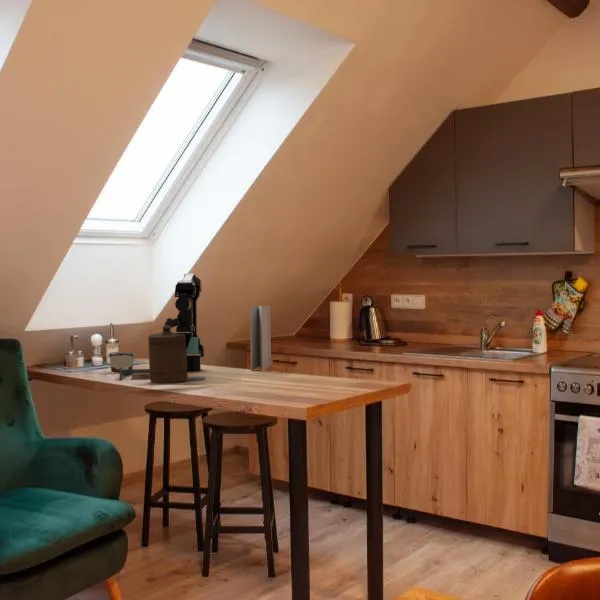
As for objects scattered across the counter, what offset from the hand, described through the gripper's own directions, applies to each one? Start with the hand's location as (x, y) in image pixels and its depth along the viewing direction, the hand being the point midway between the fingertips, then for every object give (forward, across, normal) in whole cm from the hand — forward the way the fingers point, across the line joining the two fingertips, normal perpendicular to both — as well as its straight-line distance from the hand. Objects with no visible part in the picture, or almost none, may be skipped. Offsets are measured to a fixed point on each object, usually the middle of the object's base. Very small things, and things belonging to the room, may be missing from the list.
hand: (185, 349), depth 324 cm
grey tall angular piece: (+12, -23, +31) cm, 40 cm away
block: (+2, 0, 0) cm, 2 cm away
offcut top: (+12, -6, -17) cm, 21 cm away
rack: (+12, -13, -17) cm, 24 cm away
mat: (+12, +1, +2) cm, 12 cm away
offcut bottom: (+13, -6, -17) cm, 22 cm away
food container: (+12, -37, -31) cm, 49 cm away
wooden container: (+12, +9, -6) cm, 16 cm away
